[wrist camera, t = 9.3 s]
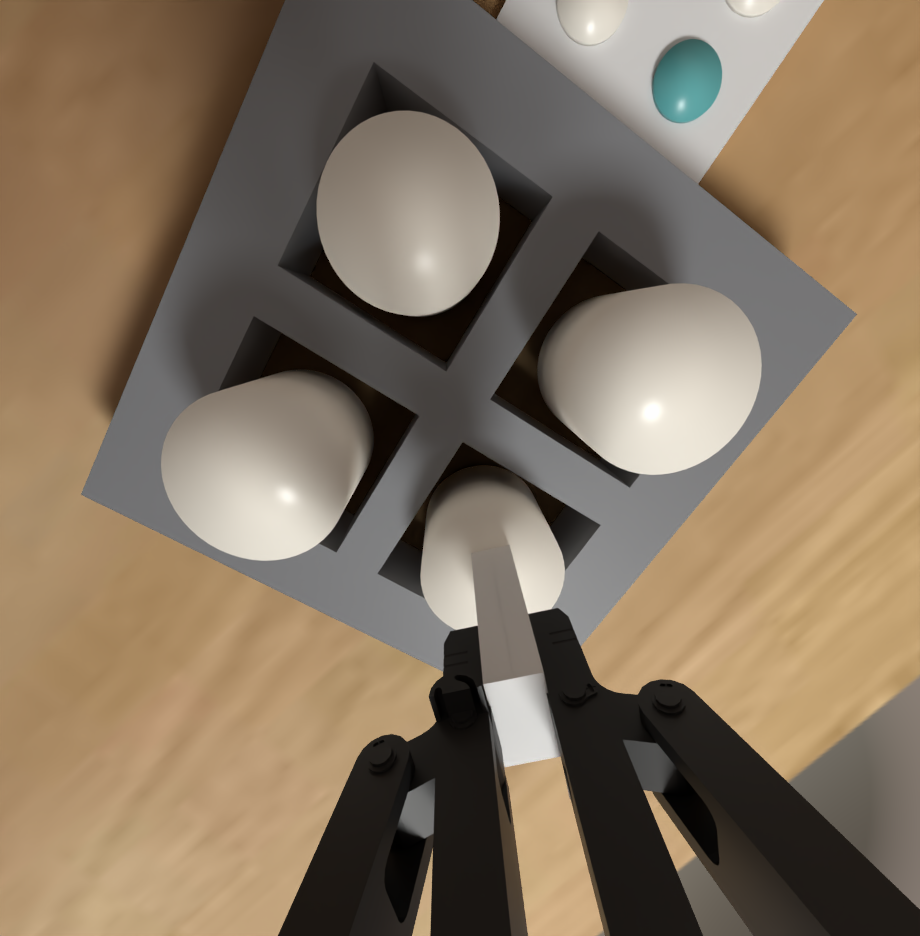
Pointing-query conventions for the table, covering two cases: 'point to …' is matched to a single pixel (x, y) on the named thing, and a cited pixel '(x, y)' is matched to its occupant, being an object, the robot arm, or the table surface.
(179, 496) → the button
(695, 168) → the card
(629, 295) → the button
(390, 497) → the board
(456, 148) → the button
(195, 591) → the table surface
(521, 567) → the button
